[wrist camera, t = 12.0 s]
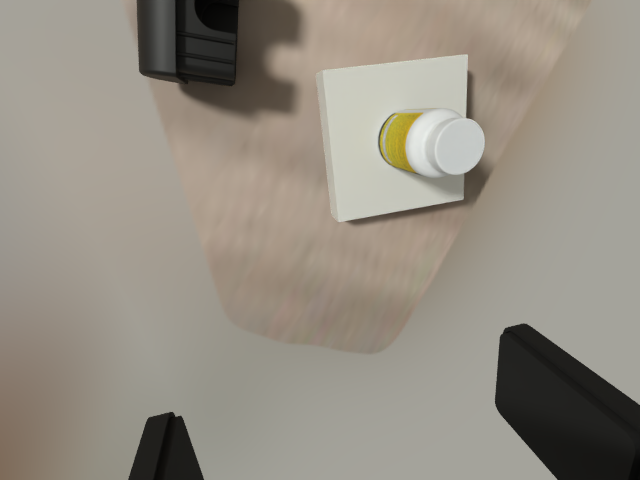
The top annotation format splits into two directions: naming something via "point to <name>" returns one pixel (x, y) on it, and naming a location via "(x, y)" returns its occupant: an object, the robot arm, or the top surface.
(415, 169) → the supplement bottle
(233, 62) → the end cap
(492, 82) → the top surface
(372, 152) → the base plate
